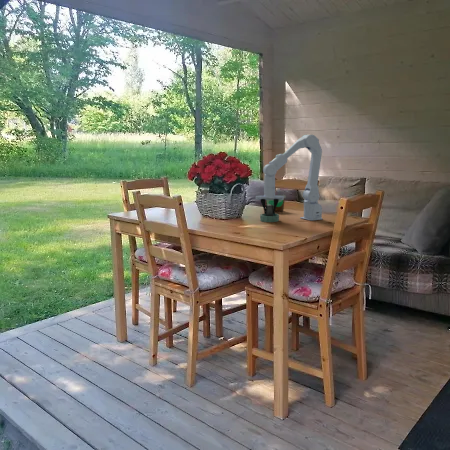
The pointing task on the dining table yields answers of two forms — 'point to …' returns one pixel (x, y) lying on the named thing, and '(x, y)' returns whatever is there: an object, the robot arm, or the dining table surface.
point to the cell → (269, 210)
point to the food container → (279, 206)
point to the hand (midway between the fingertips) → (269, 213)
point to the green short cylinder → (269, 218)
